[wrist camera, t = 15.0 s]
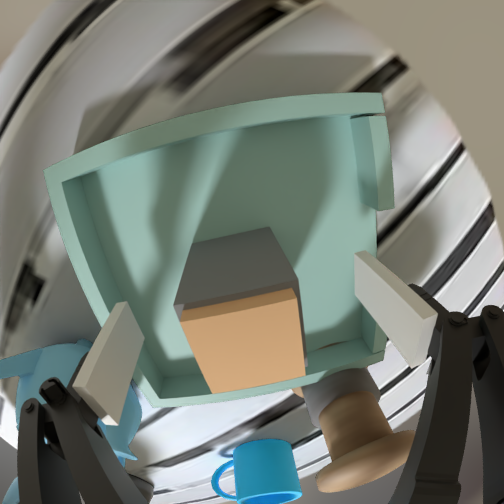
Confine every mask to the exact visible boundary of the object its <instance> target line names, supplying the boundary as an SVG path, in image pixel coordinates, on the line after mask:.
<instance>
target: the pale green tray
mask: <svg viewBox="0 0 504 504" xmlns="http://www.w3.org/2000/svg"><path fill="white" fill-rule="evenodd" d="M379 113H385V110H384V104H383V99H382V94H381V93H326V94H310V95H298V96H288V97H279V98H271V99H263V100H257V101H250V102H244V103H239V104H233V105H228V106H223V107H218V108H213V109H209V110H204V111H200V112H196V113H192V114H188V115H184V116H180V117H177V118H173V119H169V120H166V121H163V122H159V123H156V124H153V125H150V126H146V127H143V128H140V129H137V130H134V131H132V132H129V133H126V134H123V135H120V136H118V137H115V138H112V139H110V140H107V141H105V142H102V143H100V144H97V145H95V146H93V147H90V148H88V149H86V150H83V151H81V152H79V153H77V154H75V155H72V156H70V157H68V158H66V159H64V160H62V161H60V162H58V163H56V164H54V165H52V166H50V167H48V168H46V169H44V170H43V172H44V177H45V181H46V185H47V189H48V193H49V197H50V201H51V204H52V208H53V211H54V214H55V218H56V221H57V224H58V227H59V230H60V233H61V236H62V239H63V242H64V245H65V247H66V250H67V253H68V255H69V258H70V260H71V263H72V265H73V268H74V270H75V273H76V275H77V277H78V280H79V282H80V284H81V287H82V289H83V291H84V293H85V295H86V297H87V300H88V302H89V304H90V306H91V308H92V310H93V312H94V314H95V316H96V318H97V320H98V322H99V324H100V325H101V327H103V325H104V324H105V322H106V320H107V318H108V317H109V315H110V313H111V311H112V310H113V308H114V306H115V305H116V303H120V302H125V301H127V302H128V304H129V306H130V308H131V311H132V313H133V315H134V317H135V319H136V321H137V323H138V325H139V328H140V330H141V332H142V334H143V336H144V338H145V339H144V342H143V345H142V348H141V351H140V354H139V357H138V360H137V363H136V366H135V370H134V373H133V376H132V379H133V380H134V382H135V383H136V385H137V386H138V388H139V389H140V391H141V392H142V393H143V395H144V396H145V398H146V399H147V400H148V402H149V403H150V404H151V406H152V407H153V408H160V407H177V406H189V405H199V404H208V403H216V402H224V401H231V400H237V399H243V398H249V397H255V396H260V395H265V394H270V393H275V392H279V391H284V390H288V389H292V388H296V387H300V386H304V385H308V384H312V383H316V382H319V381H321V380H322V379H324V378H325V377H327V376H329V375H331V374H333V373H335V372H338V371H341V370H345V369H350V368H364V367H367V366H369V365H372V364H375V363H377V362H380V361H383V359H384V353H385V350H384V349H385V348H386V341H387V335H386V334H385V332H384V331H383V330H382V329H381V327H380V326H379V325H378V323H377V322H376V321H375V319H374V318H373V317H372V316H371V314H370V313H369V312H368V311H367V309H366V308H365V307H364V306H363V304H362V303H361V302H360V301H359V299H358V298H357V297H356V296H355V275H354V253H356V252H360V251H364V250H366V251H367V252H369V253H370V254H371V255H372V256H373V257H375V258H376V259H377V244H376V211H375V210H377V211H383V210H388V209H393V208H395V206H394V186H393V172H392V161H391V151H390V143H389V135H388V128H387V122H386V116H367V117H365V116H366V115H372V114H379ZM265 227H270V228H271V230H272V232H273V234H274V236H275V237H276V239H277V241H278V243H279V245H280V246H281V248H282V250H283V252H284V254H285V255H286V257H287V259H288V261H289V263H290V265H291V266H292V268H293V270H294V272H295V274H296V276H297V277H298V279H299V287H300V295H301V303H302V312H303V321H304V330H305V340H306V350H307V361H308V367H305V374H306V376H302V377H298V378H294V379H290V380H285V381H281V382H277V383H272V384H267V385H262V386H257V387H252V388H247V389H241V390H235V391H229V392H222V393H215V394H212V392H211V390H210V388H209V386H208V384H207V382H206V380H205V378H204V376H203V374H202V372H201V370H200V367H199V365H198V363H197V361H196V359H195V357H194V354H193V352H192V350H191V348H190V345H189V343H188V341H187V338H186V336H185V334H184V331H183V329H182V327H181V324H180V322H179V319H178V317H177V314H176V312H175V309H174V307H173V304H174V300H175V297H176V293H177V290H178V287H179V283H180V280H181V276H182V273H183V270H184V267H185V263H186V260H187V257H188V254H189V251H190V247H191V244H192V243H196V242H201V241H205V240H210V239H214V238H219V237H223V236H228V235H232V234H237V233H241V232H246V231H251V230H255V229H260V228H265ZM342 341H343V343H341V342H342ZM344 341H347V342H344ZM337 342H339V343H340V344H338V343H337ZM332 343H335V345H334V344H332ZM336 343H337V344H336ZM329 344H332V345H333V346H330V347H326V348H325V347H324V348H323V349H320V348H321V347H323V346H326V345H329ZM317 349H319V350H317Z"/></svg>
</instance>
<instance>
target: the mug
mask: <svg viewBox="0 0 504 504" xmlns="http://www.w3.org/2000/svg"><path fill="white" fill-rule="evenodd" d="M233 465H234V476H235V487H236V496H232V495H228V494H226V493H224V492H223V491H222V490H221V489H220V487H219V484H218V482H219V477H220V476H221V474H222V473H223V472H224V471H225V470H226V469H227V468H229V467H231V466H233ZM211 484H212V488H213V490H214V491H215V492H216V493H217V494H218V495H219V496H221V497H223V498H225V499H229V500H233V501H237V503H238V504H282V503H286V502H290V501H293V500H295V499H297V498H299V497H301V496H302V491H301V487H300V482H299V478H298V474H297V469H296V465H295V461H294V456H293V452H292V448H291V444H290V443H288V442H287V441H283V440H279V439H262V440H256V441H251V442H248V443H244V444H242V445H240V446H238V447H236V448H235V449H234V450H233V460H231V461H228V462H227V463H225V464H223V465H221V466H220V467H219V468H218V469H217V470H216V471H215V473H214V474H213V476H212V480H211Z"/></svg>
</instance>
